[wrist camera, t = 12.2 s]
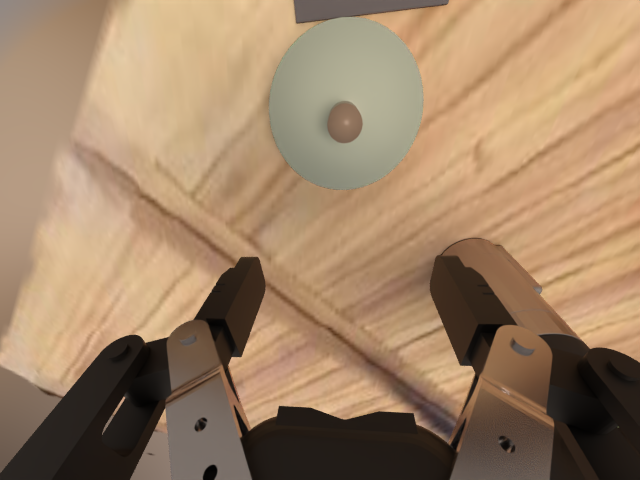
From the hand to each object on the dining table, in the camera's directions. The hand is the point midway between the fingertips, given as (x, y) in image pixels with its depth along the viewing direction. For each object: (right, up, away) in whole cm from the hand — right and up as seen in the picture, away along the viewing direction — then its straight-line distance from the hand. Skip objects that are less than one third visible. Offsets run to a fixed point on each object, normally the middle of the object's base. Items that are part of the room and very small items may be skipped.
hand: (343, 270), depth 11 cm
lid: (+1, +14, +13) cm, 19 cm away
